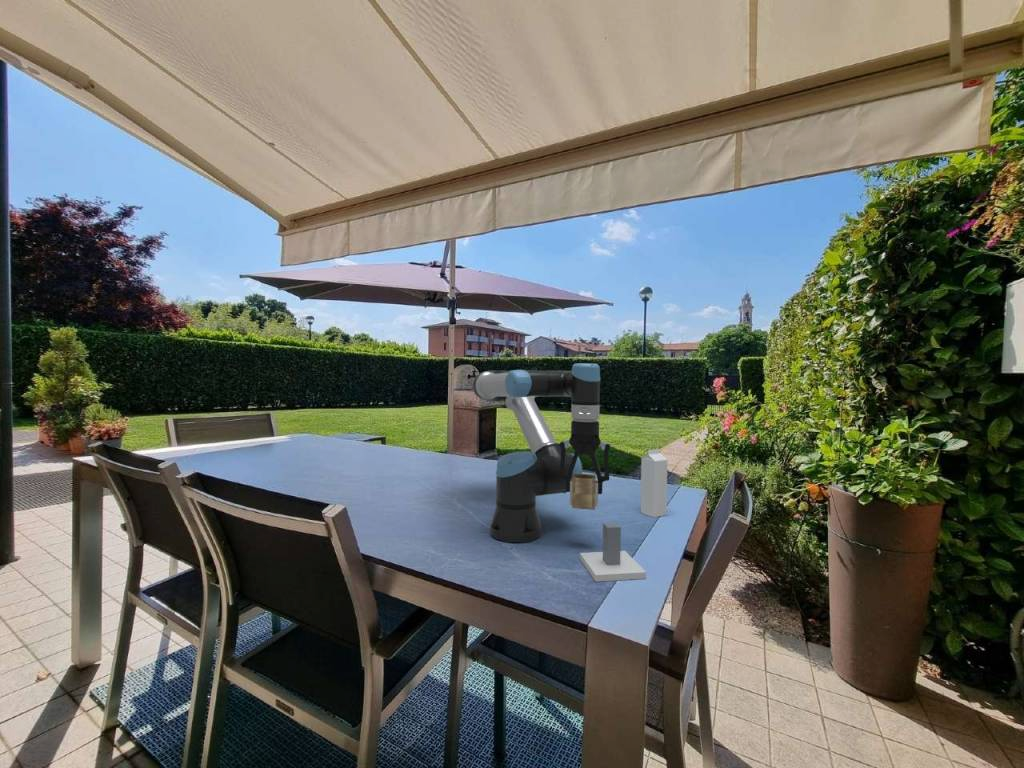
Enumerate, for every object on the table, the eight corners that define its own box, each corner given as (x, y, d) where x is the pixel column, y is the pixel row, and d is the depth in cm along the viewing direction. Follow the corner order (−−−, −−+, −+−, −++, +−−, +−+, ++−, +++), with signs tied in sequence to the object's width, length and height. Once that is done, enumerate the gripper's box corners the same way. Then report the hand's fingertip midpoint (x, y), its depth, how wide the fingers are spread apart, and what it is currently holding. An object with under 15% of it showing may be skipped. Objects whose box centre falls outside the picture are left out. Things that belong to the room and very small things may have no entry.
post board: (595, 581, 94) (596, 535, 94) (579, 558, 106) (580, 517, 106) (646, 578, 96) (646, 533, 96) (624, 556, 108) (625, 515, 108)
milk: (666, 515, 141) (668, 450, 140) (654, 518, 138) (655, 451, 137) (652, 510, 146) (653, 447, 146) (640, 512, 143) (641, 448, 143)
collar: (571, 508, 112) (572, 478, 112) (573, 501, 118) (573, 473, 118) (594, 509, 111) (595, 479, 111) (595, 503, 117) (595, 474, 116)
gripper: (548, 420, 112) (547, 506, 113) (621, 422, 108) (620, 511, 109) (551, 417, 119) (550, 498, 120) (620, 419, 115) (619, 503, 116)
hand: (583, 504), depth 114 cm, fingers closed on collar, 6 cm apart
